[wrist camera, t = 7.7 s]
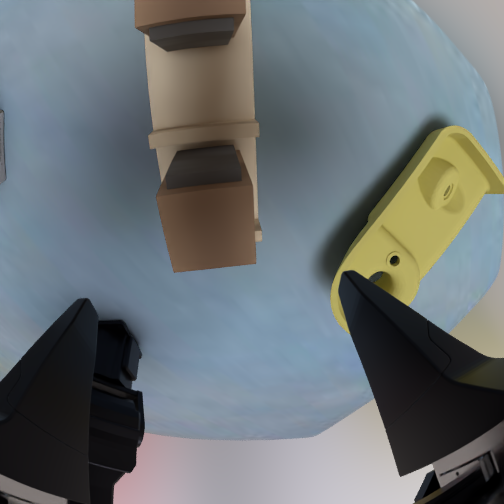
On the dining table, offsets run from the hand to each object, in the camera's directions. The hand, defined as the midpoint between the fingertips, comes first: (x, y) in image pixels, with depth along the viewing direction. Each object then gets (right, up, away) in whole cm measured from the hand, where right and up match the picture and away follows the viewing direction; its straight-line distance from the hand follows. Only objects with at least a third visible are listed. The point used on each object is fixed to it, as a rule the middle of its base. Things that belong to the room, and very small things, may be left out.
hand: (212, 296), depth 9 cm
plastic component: (+16, +5, +14) cm, 22 cm away
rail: (-2, +11, +7) cm, 13 cm away
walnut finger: (-1, +6, +8) cm, 10 cm away
